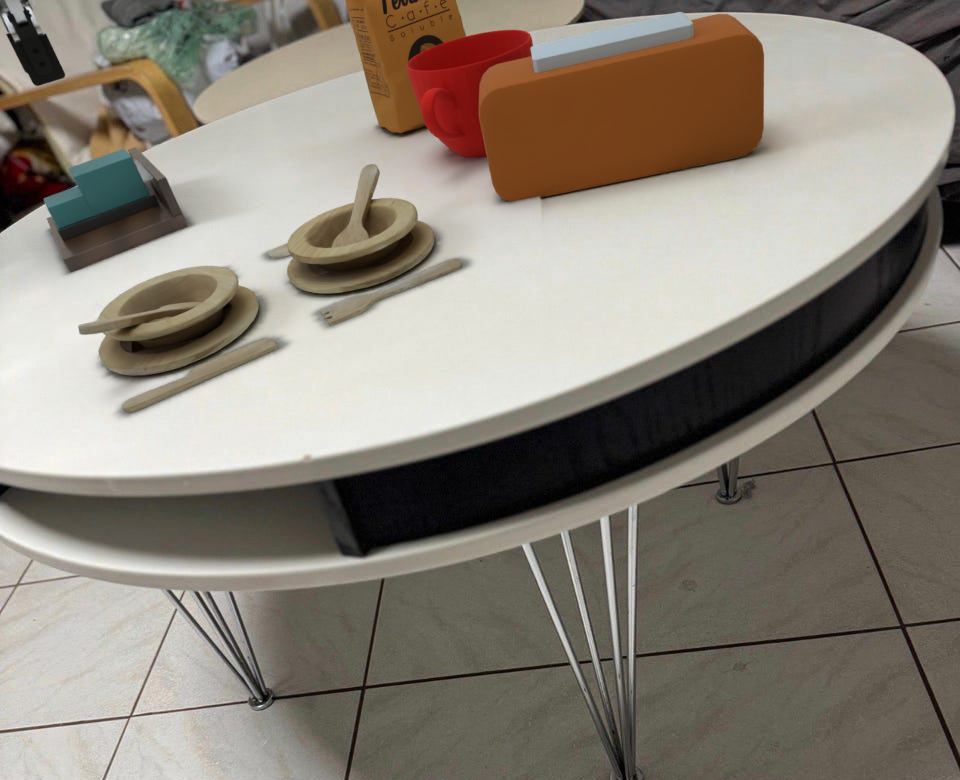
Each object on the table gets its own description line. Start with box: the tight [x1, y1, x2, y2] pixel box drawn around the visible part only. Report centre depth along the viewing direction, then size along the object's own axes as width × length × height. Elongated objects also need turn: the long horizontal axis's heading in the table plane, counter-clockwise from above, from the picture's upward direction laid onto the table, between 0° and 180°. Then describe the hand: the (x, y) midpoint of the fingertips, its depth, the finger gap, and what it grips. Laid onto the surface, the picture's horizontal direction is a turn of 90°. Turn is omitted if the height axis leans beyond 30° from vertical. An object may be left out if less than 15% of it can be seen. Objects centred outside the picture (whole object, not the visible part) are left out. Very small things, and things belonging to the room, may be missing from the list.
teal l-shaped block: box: [43, 148, 159, 241], centre depth 91 cm, size 11×5×6 cm, turn 120°
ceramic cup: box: [407, 29, 534, 159], centre depth 84 cm, size 13×17×10 cm
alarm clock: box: [479, 11, 765, 202], centre depth 73 cm, size 24×8×11 cm, turn 89°
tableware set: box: [77, 163, 463, 414], centre depth 68 cm, size 30×20×6 cm, turn 118°
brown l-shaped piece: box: [46, 147, 189, 273], centre depth 92 cm, size 13×18×6 cm
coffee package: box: [345, 0, 467, 134], centre depth 95 cm, size 10×12×22 cm
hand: (45, 75), depth 86 cm, fingers open, 9 cm apart
